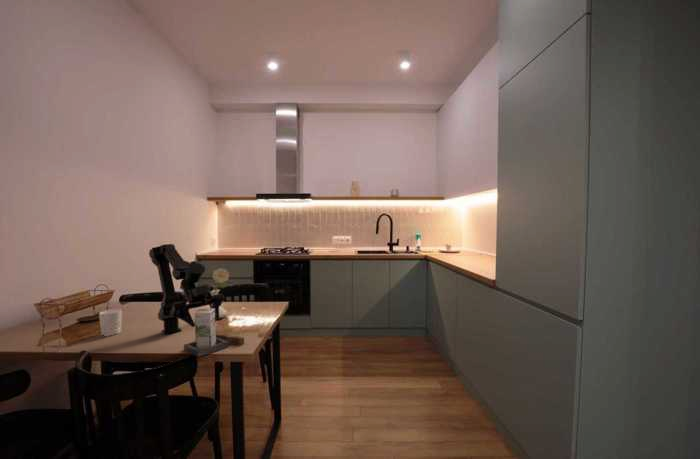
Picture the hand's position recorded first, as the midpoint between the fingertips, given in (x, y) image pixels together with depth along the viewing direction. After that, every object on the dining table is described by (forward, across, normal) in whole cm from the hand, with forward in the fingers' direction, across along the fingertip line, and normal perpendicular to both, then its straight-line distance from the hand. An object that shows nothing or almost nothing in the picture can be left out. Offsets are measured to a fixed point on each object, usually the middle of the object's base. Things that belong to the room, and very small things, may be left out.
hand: (206, 322), depth 115 cm
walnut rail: (+5, +8, +8) cm, 13 cm away
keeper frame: (+6, 0, +8) cm, 10 cm away
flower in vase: (-18, +22, +33) cm, 44 cm away
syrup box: (+6, 0, +8) cm, 10 cm away
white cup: (-30, -17, +45) cm, 57 cm away
